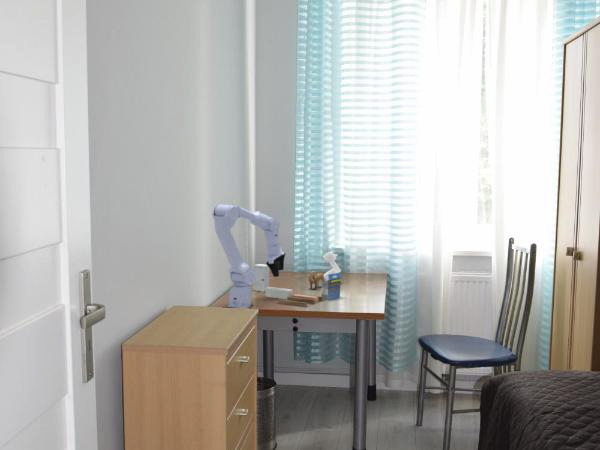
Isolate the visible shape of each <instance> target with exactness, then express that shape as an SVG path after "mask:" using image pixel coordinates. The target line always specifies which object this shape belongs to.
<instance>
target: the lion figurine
mask: <svg viewBox="0 0 600 450" xmlns="http://www.w3.org/2000/svg"><path fill="white" fill-rule="evenodd" d="M320 281H321V283H322V282H325V281H326V280H325V278H324V274H323V273H321V272H320V273H318V272H316V271H315V270H311V271H310V272H309V273H308V282H309V285H310V286H309V290H312V289H313V284H314V290H318V287H319V285H320Z"/></svg>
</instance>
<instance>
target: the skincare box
mask: <svg viewBox="0 0 600 450" xmlns="http://www.w3.org/2000/svg"><path fill="white" fill-rule="evenodd" d="M253 271H254V273H255V281H254V283H253V291H256V292H262V293H263V292H264V291H265V292H266V288H268V287H270V268H269V267H268V266H267V264H266V263H265V264H263V263H257V264H254V268H253ZM265 292H264V293H265Z"/></svg>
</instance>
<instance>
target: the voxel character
mask: <svg viewBox="0 0 600 450" xmlns="http://www.w3.org/2000/svg"><path fill="white" fill-rule="evenodd" d="M338 256H339V254H338V253H337V254H336V253H333V251H331V252H330V251H328V252H327V253H325V254H324V255H322V258H323V260H324V261H326V262H328V264H329V265H330V266H331V267H332V268H331V269H329V270H328V271H326V273H324V274H323V275H324V281H328V280H329V279H328V274H334V273H341V272H342V269H341V268H340V267H339V265H338V264H337V263H336V260H337V257H338ZM335 277H337V276H335V275H334V276H333V278H335ZM341 281H342V280H340V283H341Z"/></svg>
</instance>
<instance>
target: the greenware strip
mask: <svg viewBox="0 0 600 450" xmlns="http://www.w3.org/2000/svg"><path fill="white" fill-rule="evenodd" d="M292 295H294V289H290V288H285V287H274V286H269V287H268V288H266V291H265V298H266V297H267V298H274V299H280V300H287V297H292Z"/></svg>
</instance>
